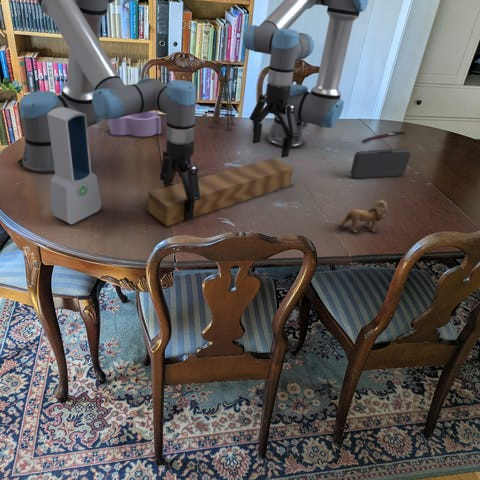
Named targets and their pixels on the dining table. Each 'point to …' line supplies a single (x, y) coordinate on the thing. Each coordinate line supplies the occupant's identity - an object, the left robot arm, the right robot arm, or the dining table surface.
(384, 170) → the handheld gaming console
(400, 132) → the sword
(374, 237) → the dining table surface
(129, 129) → the purple desk organizer
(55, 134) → the electronic device
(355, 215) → the lion figurine
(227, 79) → the miniature windmill
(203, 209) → the wide beam
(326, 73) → the right robot arm
